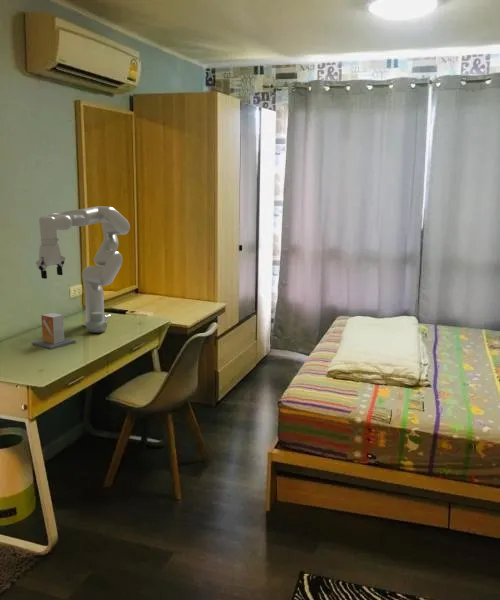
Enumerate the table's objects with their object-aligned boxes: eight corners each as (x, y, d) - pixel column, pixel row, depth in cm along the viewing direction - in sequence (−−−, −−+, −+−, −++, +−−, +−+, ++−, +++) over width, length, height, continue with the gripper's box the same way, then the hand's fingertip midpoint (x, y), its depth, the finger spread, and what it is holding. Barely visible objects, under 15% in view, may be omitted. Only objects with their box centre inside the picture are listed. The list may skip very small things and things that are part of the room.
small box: (42, 341, 282) (40, 314, 280) (53, 338, 288) (51, 312, 285) (54, 344, 278) (52, 317, 275) (64, 341, 283) (63, 314, 281)
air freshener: (99, 335, 299) (99, 315, 297) (84, 333, 301) (83, 314, 299) (109, 329, 310) (108, 311, 308) (94, 328, 311) (93, 310, 309)
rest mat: (56, 337, 293) (56, 335, 292) (75, 342, 285) (75, 340, 285) (32, 344, 281) (32, 342, 281) (51, 349, 274) (51, 347, 273)
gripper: (57, 239, 297) (60, 273, 301) (29, 243, 282) (32, 279, 286) (68, 240, 293) (71, 274, 297) (40, 244, 279) (43, 280, 283)
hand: (52, 276), depth 292 cm, fingers open, 9 cm apart
